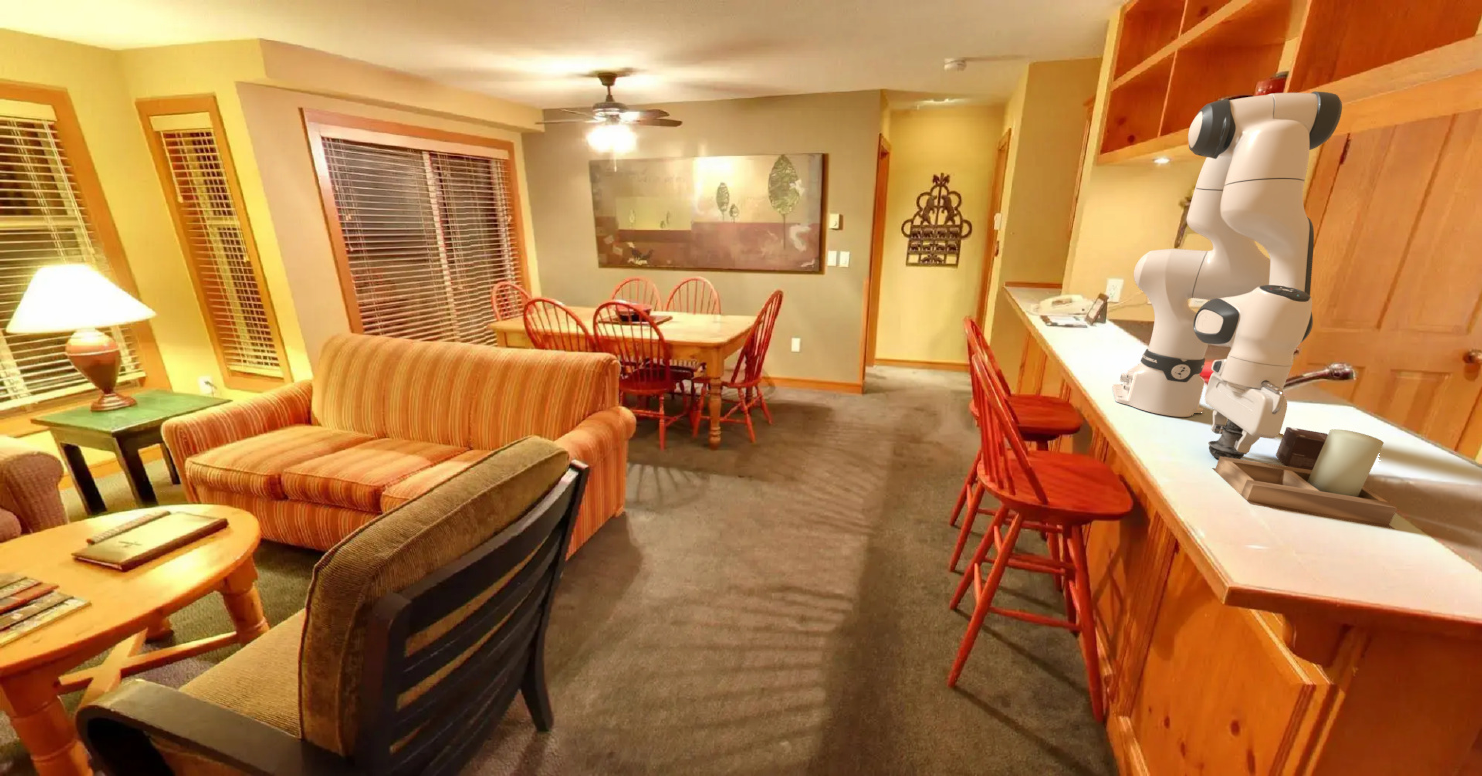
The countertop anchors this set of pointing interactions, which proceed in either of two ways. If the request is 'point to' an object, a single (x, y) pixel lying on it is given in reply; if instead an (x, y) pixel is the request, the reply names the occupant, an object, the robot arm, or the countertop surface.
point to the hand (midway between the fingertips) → (1228, 441)
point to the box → (1300, 448)
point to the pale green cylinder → (1345, 462)
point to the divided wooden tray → (1301, 493)
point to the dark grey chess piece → (1227, 442)
